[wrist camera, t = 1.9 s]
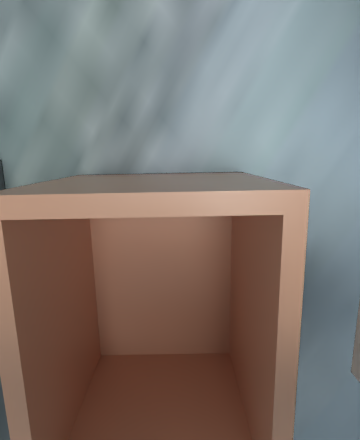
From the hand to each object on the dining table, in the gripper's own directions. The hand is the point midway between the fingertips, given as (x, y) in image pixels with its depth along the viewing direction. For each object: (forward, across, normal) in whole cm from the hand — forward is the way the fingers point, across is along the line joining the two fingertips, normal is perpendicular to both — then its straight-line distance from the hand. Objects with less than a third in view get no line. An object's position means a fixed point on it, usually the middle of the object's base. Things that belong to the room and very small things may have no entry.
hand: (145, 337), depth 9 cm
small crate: (+7, 0, 0) cm, 7 cm away
